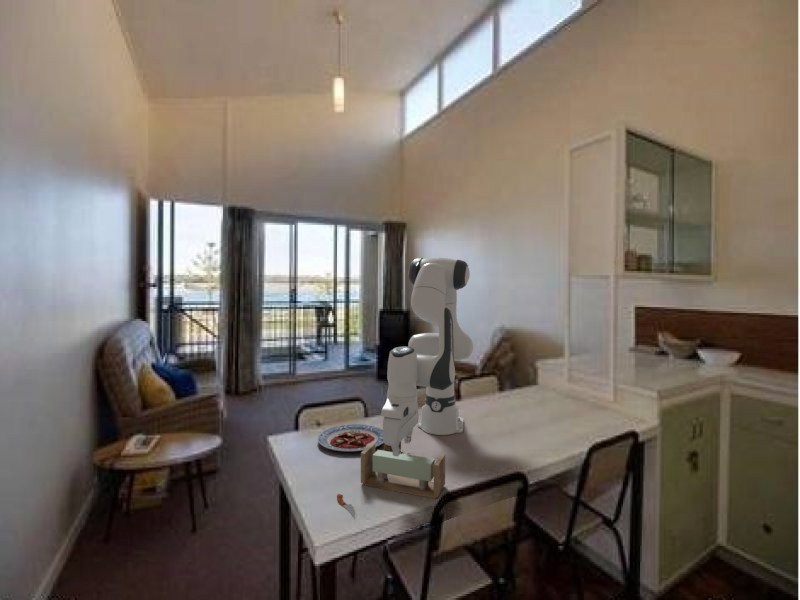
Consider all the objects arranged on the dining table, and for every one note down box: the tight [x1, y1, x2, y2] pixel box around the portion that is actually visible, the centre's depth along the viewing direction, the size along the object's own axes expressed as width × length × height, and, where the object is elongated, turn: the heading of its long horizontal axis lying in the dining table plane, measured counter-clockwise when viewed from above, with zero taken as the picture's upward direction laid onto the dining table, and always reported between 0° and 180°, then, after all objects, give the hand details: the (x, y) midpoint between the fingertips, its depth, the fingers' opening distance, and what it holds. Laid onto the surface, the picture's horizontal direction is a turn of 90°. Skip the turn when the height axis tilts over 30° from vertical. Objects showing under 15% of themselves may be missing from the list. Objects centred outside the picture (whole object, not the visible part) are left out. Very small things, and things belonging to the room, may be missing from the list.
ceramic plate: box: [317, 423, 384, 452], centre depth 161 cm, size 26×26×3 cm
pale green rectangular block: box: [373, 449, 436, 482], centre depth 127 cm, size 4×18×5 cm, turn 69°
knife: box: [336, 493, 358, 520], centre depth 116 cm, size 13×1×3 cm
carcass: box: [360, 443, 446, 500], centre depth 127 cm, size 8×24×10 cm, turn 70°
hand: (402, 448), depth 127 cm, fingers open, 8 cm apart
